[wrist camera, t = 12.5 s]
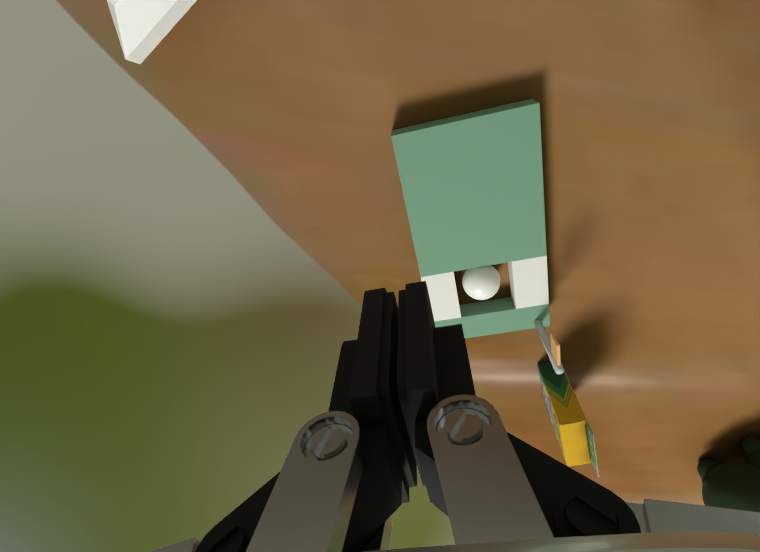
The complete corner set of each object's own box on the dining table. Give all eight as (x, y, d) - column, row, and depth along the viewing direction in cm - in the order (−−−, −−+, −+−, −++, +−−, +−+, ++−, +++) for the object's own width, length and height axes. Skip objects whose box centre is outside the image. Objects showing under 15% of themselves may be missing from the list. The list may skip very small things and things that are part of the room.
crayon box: (535, 362, 55) (564, 438, 45) (559, 357, 54) (595, 433, 44) (543, 403, 58) (572, 482, 48) (566, 398, 57) (601, 478, 47)
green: (532, 98, 39) (570, 120, 30) (543, 313, 51) (574, 375, 42) (391, 130, 41) (388, 159, 32) (433, 329, 53) (439, 393, 44)
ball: (495, 252, 46) (504, 284, 44) (496, 272, 49) (503, 303, 47) (458, 259, 47) (464, 291, 44) (460, 278, 50) (466, 309, 48)
